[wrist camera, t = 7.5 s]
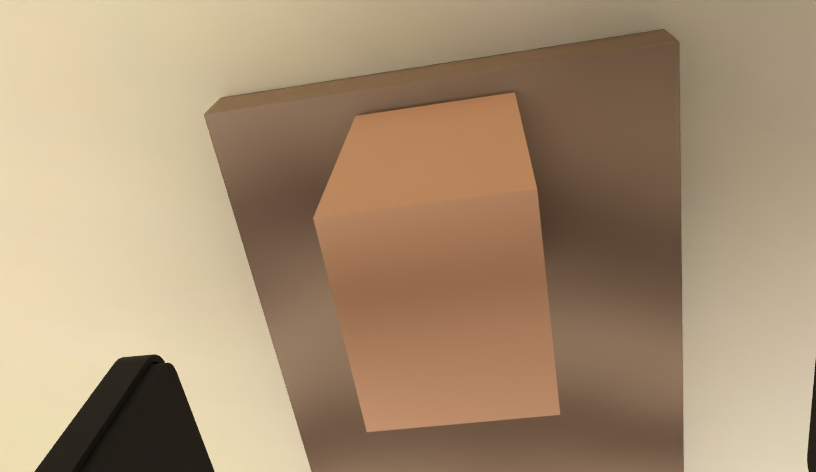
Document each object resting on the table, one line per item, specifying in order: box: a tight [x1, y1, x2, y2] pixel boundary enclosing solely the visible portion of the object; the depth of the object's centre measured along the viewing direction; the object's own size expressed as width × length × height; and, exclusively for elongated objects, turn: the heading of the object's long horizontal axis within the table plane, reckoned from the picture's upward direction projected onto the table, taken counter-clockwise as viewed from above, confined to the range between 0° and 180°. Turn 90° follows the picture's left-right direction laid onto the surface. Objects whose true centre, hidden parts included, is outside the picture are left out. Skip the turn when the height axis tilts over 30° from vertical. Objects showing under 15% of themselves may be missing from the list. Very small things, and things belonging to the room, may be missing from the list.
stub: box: [313, 92, 560, 432], centre depth 17 cm, size 5×4×6 cm
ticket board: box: [204, 29, 684, 472], centre depth 23 cm, size 24×12×6 cm, turn 10°
